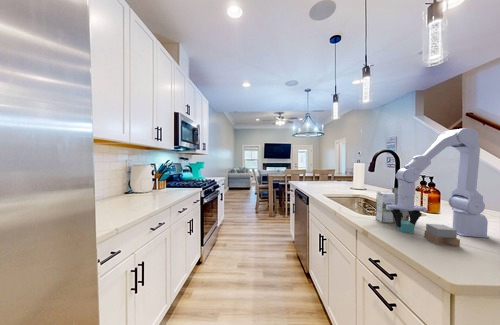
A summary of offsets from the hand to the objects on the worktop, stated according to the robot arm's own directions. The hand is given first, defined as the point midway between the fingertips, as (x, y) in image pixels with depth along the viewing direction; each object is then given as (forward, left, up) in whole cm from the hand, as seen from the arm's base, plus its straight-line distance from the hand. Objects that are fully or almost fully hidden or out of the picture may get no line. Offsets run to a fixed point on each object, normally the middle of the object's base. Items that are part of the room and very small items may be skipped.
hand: (405, 227), depth 87 cm
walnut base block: (-7, +10, -2) cm, 13 cm away
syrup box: (+3, -12, -2) cm, 12 cm away
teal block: (0, 0, -1) cm, 1 cm away
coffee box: (-5, -14, -2) cm, 15 cm away
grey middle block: (-7, +10, +1) cm, 12 cm away
